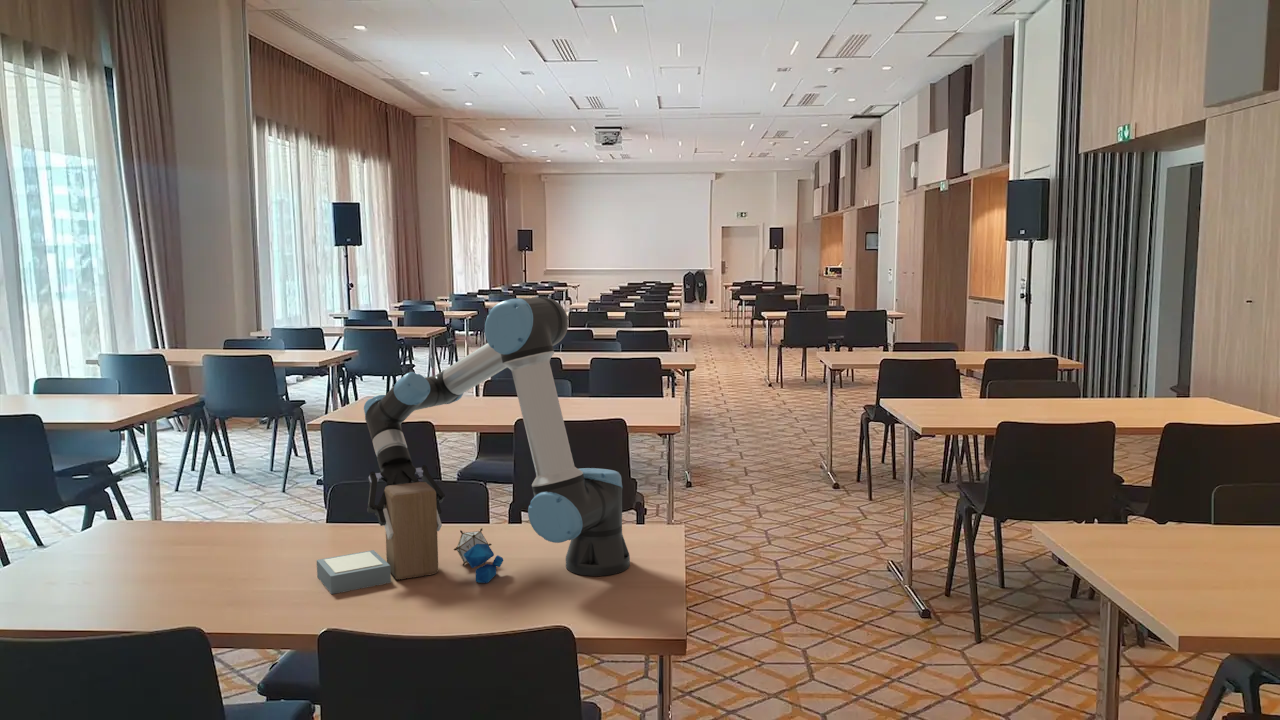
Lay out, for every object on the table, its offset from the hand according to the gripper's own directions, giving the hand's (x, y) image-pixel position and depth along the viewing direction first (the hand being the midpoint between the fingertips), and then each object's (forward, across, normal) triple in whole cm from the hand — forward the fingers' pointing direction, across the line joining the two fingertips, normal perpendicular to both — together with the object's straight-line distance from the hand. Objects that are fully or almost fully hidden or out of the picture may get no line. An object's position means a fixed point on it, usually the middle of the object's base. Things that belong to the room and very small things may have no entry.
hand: (415, 532), depth 206 cm
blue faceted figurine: (+15, -12, +1) cm, 19 cm away
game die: (+7, -14, -8) cm, 17 cm away
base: (+4, +13, -11) cm, 17 cm away
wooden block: (+5, 0, -9) cm, 11 cm away
